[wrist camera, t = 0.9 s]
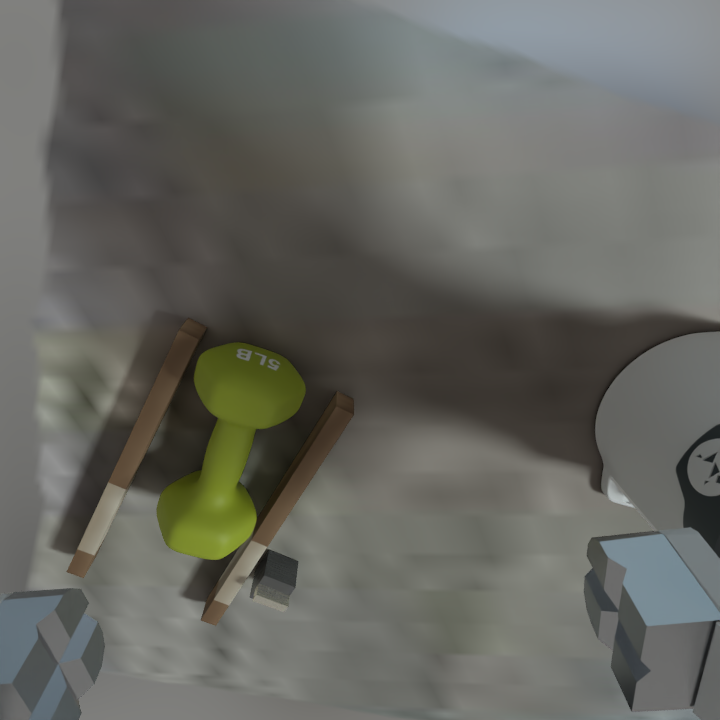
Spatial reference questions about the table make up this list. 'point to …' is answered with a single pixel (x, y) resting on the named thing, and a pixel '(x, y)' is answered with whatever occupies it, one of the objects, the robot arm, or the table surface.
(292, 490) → the beam slot
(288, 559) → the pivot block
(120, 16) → the table surface
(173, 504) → the dumbbell
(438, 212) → the table surface
